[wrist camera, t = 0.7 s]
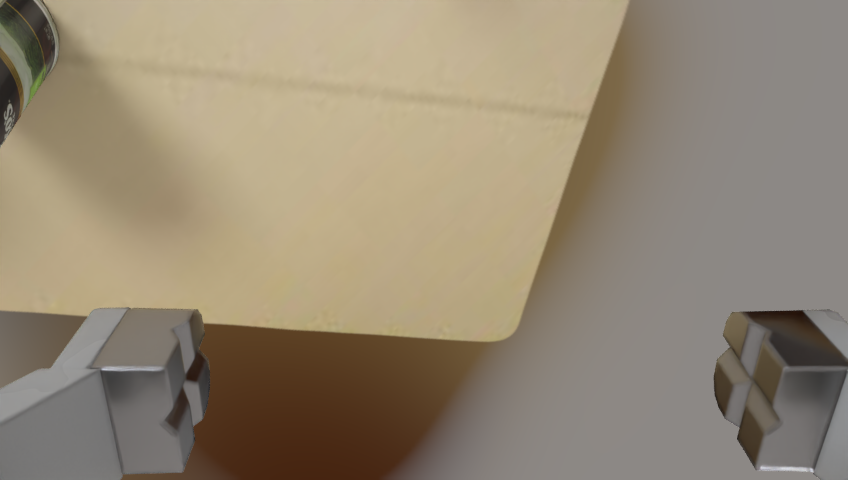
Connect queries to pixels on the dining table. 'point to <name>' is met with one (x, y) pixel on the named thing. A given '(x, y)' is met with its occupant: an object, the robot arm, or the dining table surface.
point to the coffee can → (23, 56)
